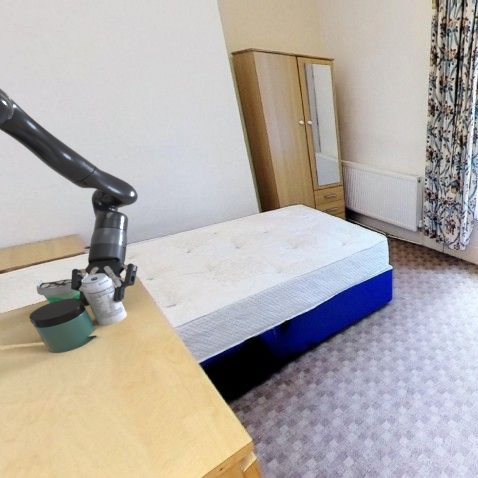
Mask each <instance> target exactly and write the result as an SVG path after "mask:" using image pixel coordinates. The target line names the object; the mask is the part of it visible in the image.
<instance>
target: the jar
mask: <svg viewBox="0 0 478 478" xmlns="http://www.w3.org/2000/svg"><path fill="white" fill-rule="evenodd" d="M33 327H34V330H36V332H37V334H38V335H39V337H40V339H41V341H42V342H43V344H44V345H45V347H46V349H47V350H48V351H49V352H50V353H54V354H59V353H60V354H61V353H65V352H70V351H73V350H75V349H77V348H81V347H83V346H84V345H87V344H88V343H90V342H91V341H93V339H95V338H96V336H97V335H92V334H93V333H94V332H95V330H96V326H95V324H94V322H93V320H92V317H91V316H90V314H89V311H88V310H87V307H85V310H84V311H83V312H82V313H81V314H80V315H78V316H77V317H75V318H73V319H71V320H69V321H66V322H63V323H60V324H57V325H53V326H47V327H37V326H34V325H33Z"/></svg>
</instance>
